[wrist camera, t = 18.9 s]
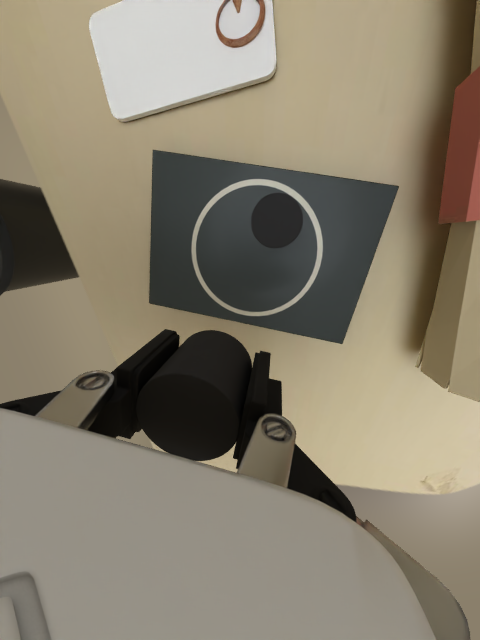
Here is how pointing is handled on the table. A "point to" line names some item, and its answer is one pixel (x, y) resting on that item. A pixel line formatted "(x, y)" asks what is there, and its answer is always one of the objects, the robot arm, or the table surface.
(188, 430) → the black cylinder roller
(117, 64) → the smartphone
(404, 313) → the table surface
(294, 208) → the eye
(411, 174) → the table surface
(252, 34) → the key
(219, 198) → the face board
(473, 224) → the scroll
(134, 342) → the table surface
